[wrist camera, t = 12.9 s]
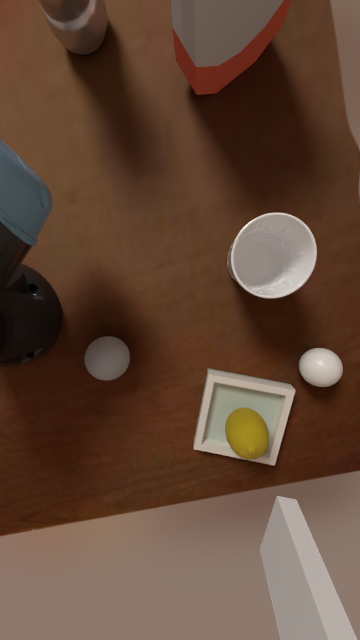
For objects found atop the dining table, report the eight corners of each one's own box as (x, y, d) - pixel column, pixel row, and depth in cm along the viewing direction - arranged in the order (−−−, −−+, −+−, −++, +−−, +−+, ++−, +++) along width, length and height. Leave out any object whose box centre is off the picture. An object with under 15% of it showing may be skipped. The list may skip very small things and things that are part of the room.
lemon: (254, 393, 36) (269, 426, 29) (265, 426, 37) (282, 467, 30) (217, 403, 37) (222, 438, 29) (229, 435, 38) (236, 478, 30)
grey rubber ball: (93, 366, 38) (74, 383, 32) (97, 328, 37) (78, 338, 31) (132, 373, 38) (119, 392, 32) (137, 335, 37) (125, 347, 31)
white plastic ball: (289, 373, 36) (303, 389, 31) (298, 340, 35) (314, 351, 30) (324, 380, 36) (344, 397, 31) (334, 346, 35) (356, 359, 30)
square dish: (193, 440, 39) (193, 449, 37) (208, 368, 37) (208, 374, 35) (270, 455, 39) (274, 465, 37) (290, 384, 36) (295, 390, 34)
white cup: (283, 288, 34) (316, 294, 24) (224, 293, 35) (233, 301, 25) (282, 226, 33) (317, 207, 23) (220, 233, 33) (228, 217, 24)
